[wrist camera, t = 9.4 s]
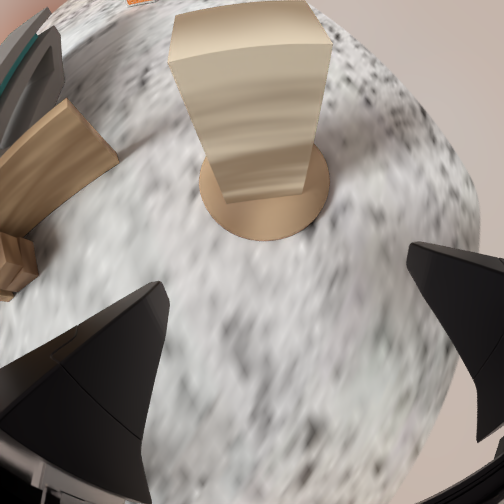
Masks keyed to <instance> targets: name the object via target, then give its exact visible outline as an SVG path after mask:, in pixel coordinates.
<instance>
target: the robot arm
mask: <svg viewBox="0 0 504 504" xmlns="http://www.w3.org/2000/svg"><path fill="white" fill-rule="evenodd" d="M406 265H407V269H408V271H409V272H410V274H411V276H412V278H413V279H414V281H415V283H416V285H417V287H418V289H419V290H420V292H421V294H422V296H423V297H424V299H425V300H426V302H427V303H428V305H429V306H430V308H431V309H432V311H433V312H434V314H435V315H436V317H437V319H438V320H439V322H440V323H441V325H442V326H443V328H444V330H445V331H446V333H447V335H448V336H449V338H450V340H451V341H452V343H453V345H454V346H455V348H456V350H457V351H458V353H459V355H460V357H461V359H462V360H463V362H464V364H465V366H466V367H467V369H468V371H469V373H470V375H471V377H472V379H474V380H473V381H474V383H475V386H476V389H477V435H476V440H477V443H479V442H480V441H482V440H483V439H485V438H486V437H488V436H489V435H491V434H492V433H494V432H495V431H497V430H498V429H499V428H501V427H502V426H504V259H503V258H497V257H492V256H488V255H483V254H479V253H474V252H470V251H465V250H460V249H455V248H451V247H446V246H441V245H436V244H431V243H425V242H412V243H411V244H410V245H409V250H408V255H407V261H406ZM169 308H170V302H169V298H168V296H167V293H166V291H165V288H164V286H163V284H162V282H160V281H155V282H150V283H148V284H146V285H145V286H143V287H141V288H139V289H138V290H136V291H134V292H133V293H131V294H129V295H127V296H126V297H124V298H122V299H121V300H119V301H117V302H115V303H114V304H112V305H110V306H109V307H107V308H105V309H104V310H102V311H100V312H99V313H97V314H95V315H94V316H92V317H90V318H89V319H87V320H85V321H84V322H82V323H80V324H79V325H78V326H77V325H76V326H75V327H73V328H71V329H70V330H68V331H66V332H65V333H63V334H61V335H60V336H58V337H56V338H54V339H53V340H51V341H49V342H47V343H45V344H44V345H42V346H40V347H38V348H36V349H35V350H33V351H31V352H29V353H27V354H25V355H24V356H22V357H20V358H18V359H16V360H15V361H13V362H11V363H9V364H8V365H6V366H4V367H2V368H0V504H125V500H127V501H131V502H136V503H141V504H152V500H151V496H150V492H149V488H148V484H147V480H146V476H145V472H144V467H143V462H142V457H141V444H142V438H143V433H144V428H145V423H146V418H147V413H148V409H149V404H150V399H151V395H152V390H153V386H154V382H155V377H156V373H157V369H158V365H159V361H160V357H161V353H162V349H163V345H164V341H165V337H166V330H167V322H168V315H169ZM416 504H504V436H503V437H502V438H501V439H500V441H499V444H498V448H497V451H496V454H495V457H494V460H492V461H491V462H489V463H488V464H487V465H485V466H484V467H482V468H481V469H479V470H478V471H476V472H475V473H473V474H471V475H470V476H468V477H466V478H465V479H463V480H461V481H460V482H458V483H456V484H454V485H453V486H451V487H449V488H447V489H445V490H443V491H441V492H439V493H437V494H435V495H433V496H431V497H429V498H427V499H425V500H423V501H420V502H419V503H416Z"/></svg>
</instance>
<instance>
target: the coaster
mask: <svg viewBox="0 0 504 504" xmlns="http://www.w3.org/2000/svg"><path fill="white" fill-rule="evenodd" d="M329 184H330V178H329V171H328V166H327V164H326V161H325V159H324V157H323V155H322V153H321V152H320V150H319V149H318V148H317V147H316V145H315V144H314V143H313V147H312V152H311V156H310V161H309V165H308V170H307V174H306V178H305V183H304V187H303V191H302V195H293V196H284V197H276V198H268V199H260V200H252V201H245V202H238V203H231V204H226V202H225V199H224V197H223V195H222V192H221V190H220V188H219V185H218V183H217V180H216V178H215V176H214V173H213V171H212V169H211V166H210V164H209V161H208V159H207V157H205V159H204V162H203V164H202V167H201V170H200V177H199V187H200V194H201V197H202V200H203V202H204V204H205V207H206V208H207V210H208V212H209V213H210V215H211V216H212V217H213V219H214V220H215V221H216V222H217V223H218V224H219V225H221V226H222V227H223V228H224V229H226V230H227V231H229V232H230V233H232V234H235V235H237V236H239V237H242V238H245V239H249V240H255V241H273V240H279V239H283V238H286V237H289V236H292V235H294V234H296V233H298V232H300V231H301V230H303V229H304V228H306V227H307V226H308V225H309V224H310V223H311V222H313V221H314V219H315V218H316V217H317V216H318V214H319V213H320V211H321V209H322V208H323V206H324V203H325V201H326V199H327V196H328V192H329Z"/></svg>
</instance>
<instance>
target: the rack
mask: <svg viewBox="0 0 504 504" xmlns="http://www.w3.org/2000/svg"><path fill="white" fill-rule="evenodd" d="M117 164H119V159H118V156H117V153H116V152H115V151H114V150H113V149H112V148H111V147H110V145H109V144H108V143H107V142H106V141H105V140H104V139H103V138H102V137H101V136H100V134H99V133H98V132H97V131H96V130H95V129H94V128H93V127H92V126H91V124H90V123H89V122H88V121H87V120H86V119H85V118H84V117H83V116H82V114H81V113H80V112H79V111H78V110H77V109H76V108H75V106H74V105H73V104H72V103H71V102H70V101H69V100H68V99H67V98H66V99H64V100H63V101H62V102H60V103H59V104H58V105H57V106H55V107H54V108H53V109H52V110H50V111H49V112H48V113H47V114H46V115H44V116H43V117H42V118H41V119H40V120H39V121H37V122H36V123H35V124H34V125H33V126H32V127H31V128H30V129H29V130H27V131H26V132H25V133H24V134H23V135H22V136H21V137H20V138H19V139H18V140H17V141H16V142H15V143H14V144H13V145H12V146H11V147H10V148H9V149H8V150H7V151H6V152H5V153H4V154H3V155H2V157H1V158H0V232H3V233H5V234H8V235H10V236H13V237H16V238H18V237H22V238H23V237H24V236H25V235H26V234H27V233H28V232H29V231H31V230H32V229H33V228H34V227H35V226H36V225H37V224H38V223H40V222H41V221H42V220H43V219H44V218H45V217H47V216H48V215H49V214H50V213H51V212H53V211H54V210H55V209H56V208H58V207H59V206H60V205H61V204H63V203H64V202H65V201H66V200H68V199H69V198H70V197H72V196H73V195H74V194H75V193H77V192H78V191H80V190H81V189H82V188H84V187H85V186H86V185H88V184H89V183H91V182H92V181H93V180H95V179H96V178H98V177H99V176H101V175H102V174H103V173H105V172H106V171H108V170H109V169H111V168H112V167H114V166H115V165H117ZM13 297H14V296H13V291H7V290H3V289H0V301H5V302H9V301H10V300H11V299H12V298H13Z"/></svg>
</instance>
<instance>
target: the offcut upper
mask: <svg viewBox="0 0 504 504" xmlns="http://www.w3.org/2000/svg"><path fill="white" fill-rule="evenodd" d="M23 267H24V265H23V261H22V258H21V254H20V250H19V246H18V242H17V238H16V237H13V236H10V235H8V234H5V233H3V232H0V289H3V290H6V289H7V288H8V286H9V285H10V283H11V282H12V281H13V280H14V278H15V277H16V276H17V274H18V273H19V272H20V271H21V270H22V268H23Z"/></svg>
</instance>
